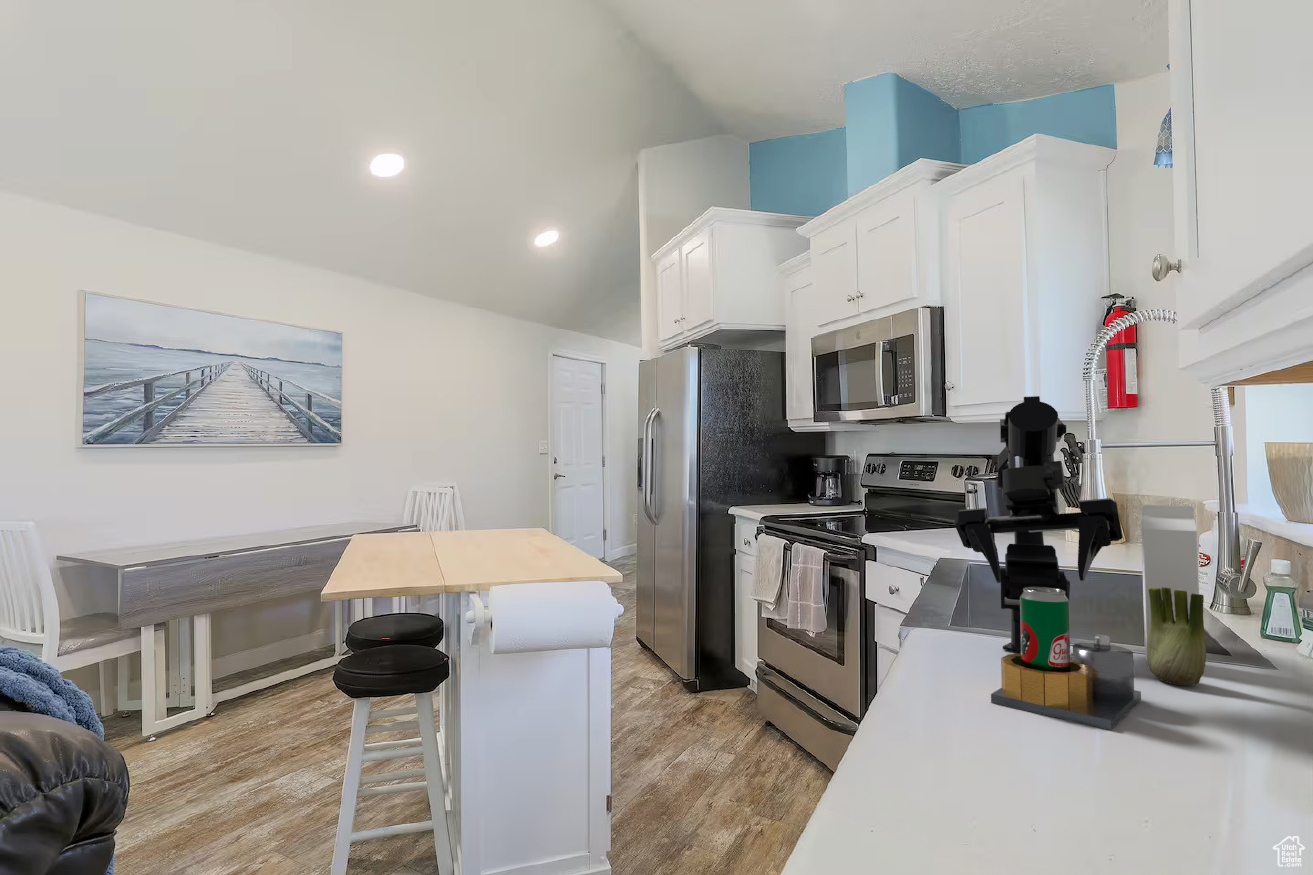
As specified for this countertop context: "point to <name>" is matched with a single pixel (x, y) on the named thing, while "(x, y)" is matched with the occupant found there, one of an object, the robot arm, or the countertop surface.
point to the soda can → (1045, 629)
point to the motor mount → (1074, 685)
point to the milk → (1168, 554)
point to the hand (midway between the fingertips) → (1038, 579)
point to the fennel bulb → (1176, 637)
